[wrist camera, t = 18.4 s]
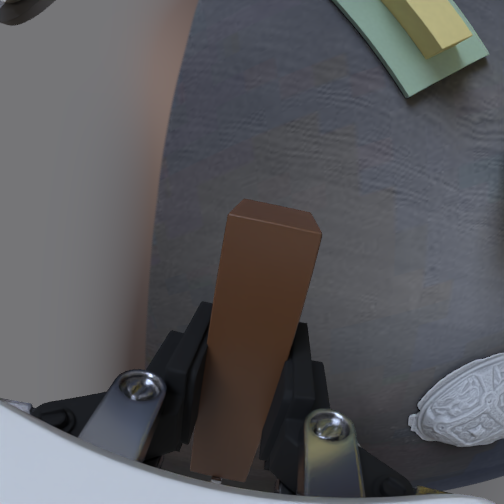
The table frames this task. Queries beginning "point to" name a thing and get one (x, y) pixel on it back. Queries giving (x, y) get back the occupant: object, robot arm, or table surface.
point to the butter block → (430, 24)
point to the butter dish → (408, 46)
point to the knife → (251, 331)
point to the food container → (464, 405)
